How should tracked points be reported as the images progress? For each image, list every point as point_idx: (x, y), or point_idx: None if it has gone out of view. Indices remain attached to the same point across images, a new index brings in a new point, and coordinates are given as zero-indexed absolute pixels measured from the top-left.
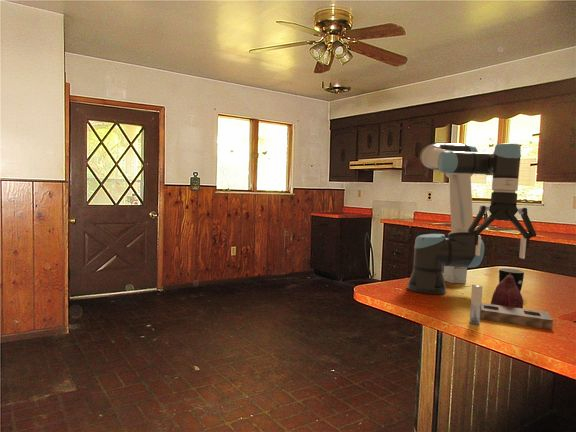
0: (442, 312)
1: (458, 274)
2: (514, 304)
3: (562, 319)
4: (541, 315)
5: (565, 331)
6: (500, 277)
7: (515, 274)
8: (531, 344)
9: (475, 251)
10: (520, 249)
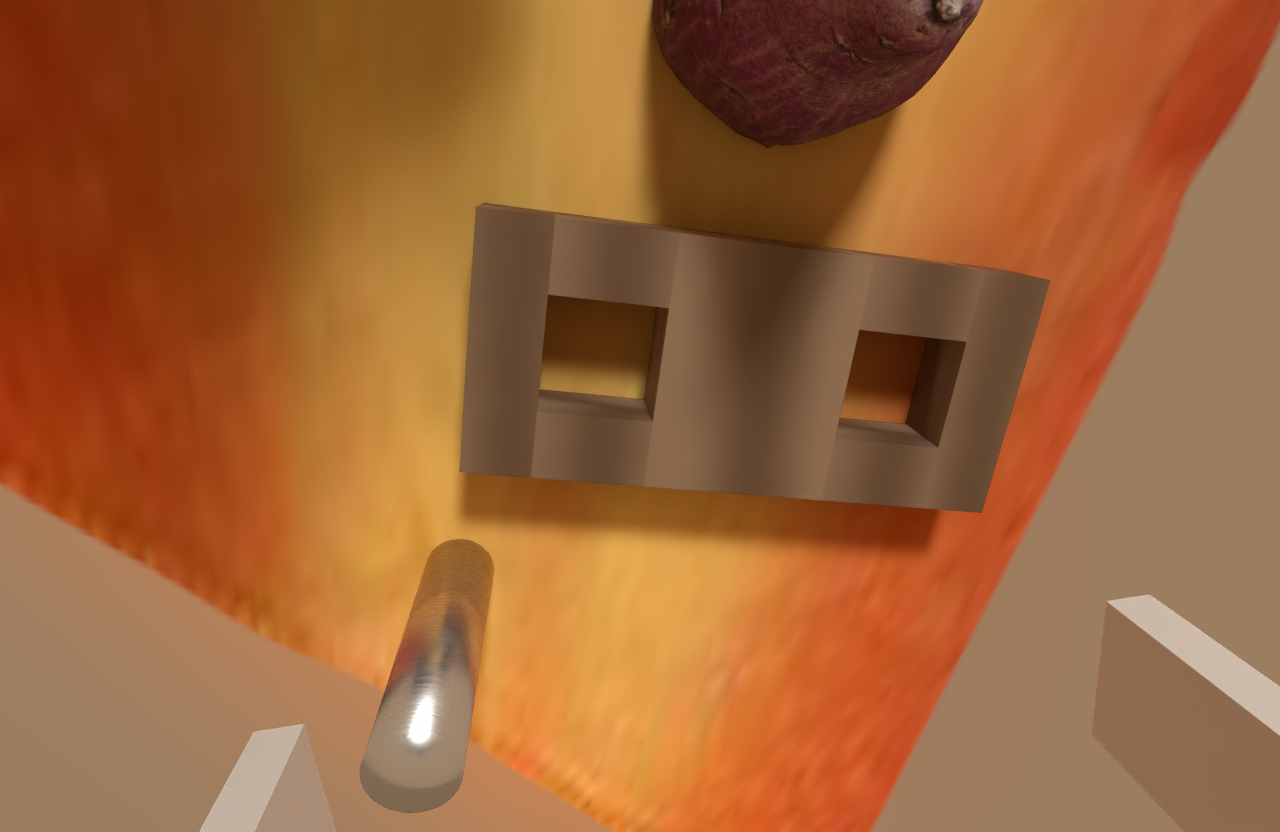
0: (218, 397)
1: None
2: (848, 126)
3: (1154, 167)
4: (950, 420)
5: (1020, 479)
6: None
7: None
8: (725, 787)
9: (227, 785)
10: (1243, 748)
